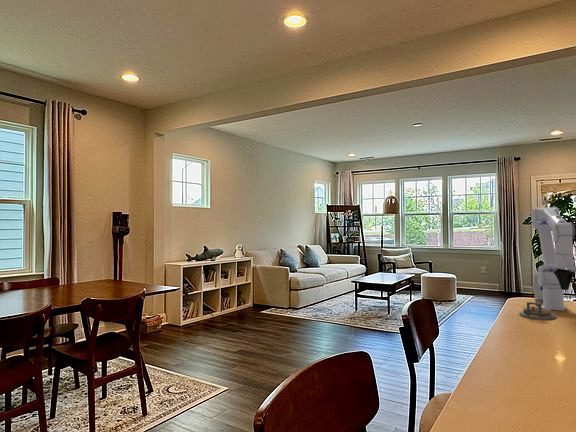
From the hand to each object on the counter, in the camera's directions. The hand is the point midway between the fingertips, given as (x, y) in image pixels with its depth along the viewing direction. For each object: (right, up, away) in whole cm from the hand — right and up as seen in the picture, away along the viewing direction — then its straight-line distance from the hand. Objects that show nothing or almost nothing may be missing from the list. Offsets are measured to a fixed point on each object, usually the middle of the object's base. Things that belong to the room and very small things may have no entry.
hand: (564, 289), depth 156 cm
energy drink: (+10, -11, +31) cm, 35 cm away
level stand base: (-10, -11, +2) cm, 14 cm away
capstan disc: (-10, -9, +2) cm, 13 cm away
